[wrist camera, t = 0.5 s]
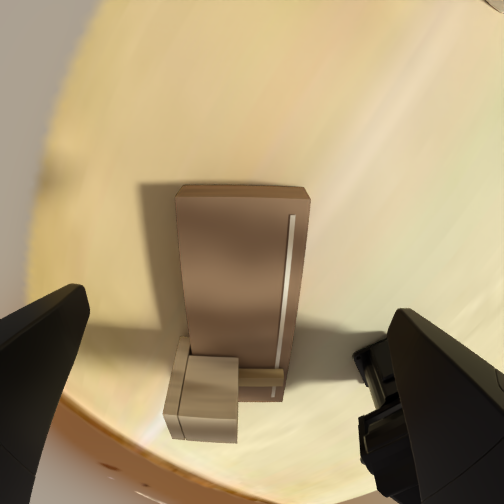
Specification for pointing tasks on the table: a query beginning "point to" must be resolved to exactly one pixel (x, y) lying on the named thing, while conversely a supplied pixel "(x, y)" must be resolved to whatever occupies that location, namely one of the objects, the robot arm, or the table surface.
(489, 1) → the mug
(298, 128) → the table surface
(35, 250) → the table surface
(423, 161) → the table surface
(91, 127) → the table surface
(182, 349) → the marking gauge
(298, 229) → the walnut board
